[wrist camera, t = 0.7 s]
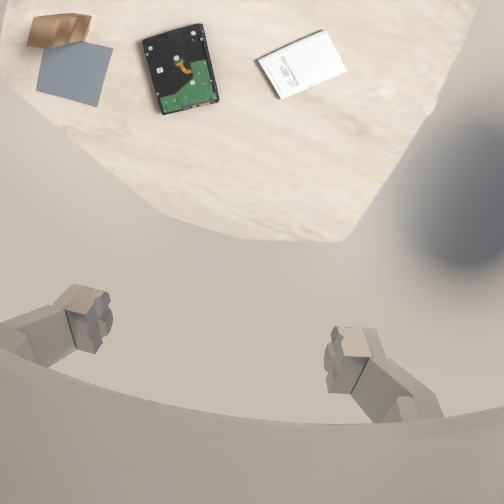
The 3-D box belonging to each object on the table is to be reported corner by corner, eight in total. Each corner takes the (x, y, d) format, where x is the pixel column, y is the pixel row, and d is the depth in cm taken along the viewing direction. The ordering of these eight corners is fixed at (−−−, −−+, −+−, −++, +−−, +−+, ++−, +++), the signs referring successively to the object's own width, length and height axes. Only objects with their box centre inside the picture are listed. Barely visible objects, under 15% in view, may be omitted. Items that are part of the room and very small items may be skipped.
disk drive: (146, 39, 42) (166, 112, 51) (140, 40, 39) (162, 116, 49) (203, 22, 40) (221, 99, 49) (199, 22, 38) (219, 103, 47)
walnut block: (73, 13, 35) (33, 17, 26) (93, 16, 37) (55, 19, 28) (65, 36, 38) (26, 45, 29) (85, 40, 40) (47, 48, 31)
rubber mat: (48, 36, 38) (47, 36, 37) (113, 48, 41) (112, 48, 41) (37, 89, 45) (36, 90, 45) (97, 106, 49) (96, 106, 49)
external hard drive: (345, 70, 44) (281, 98, 49) (323, 29, 40) (257, 59, 44) (347, 71, 43) (281, 100, 47) (325, 29, 39) (257, 60, 43)
